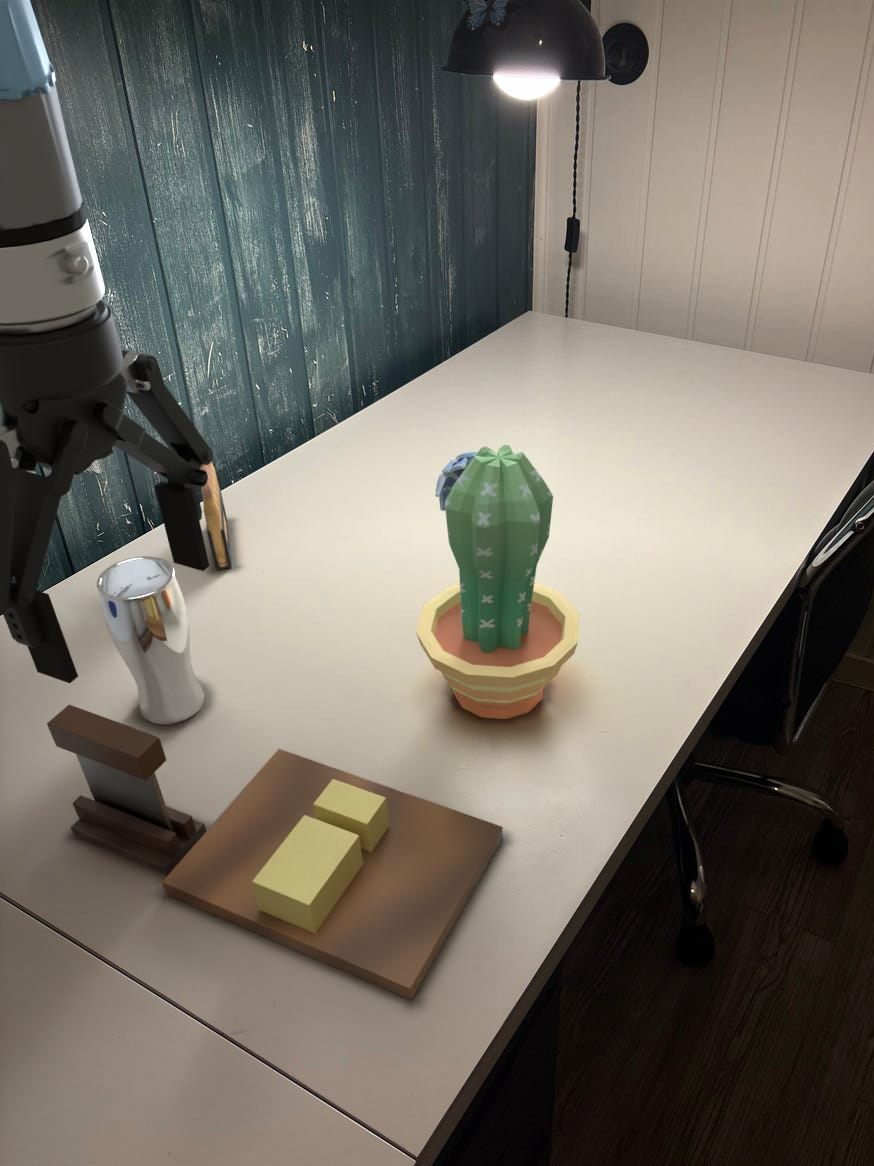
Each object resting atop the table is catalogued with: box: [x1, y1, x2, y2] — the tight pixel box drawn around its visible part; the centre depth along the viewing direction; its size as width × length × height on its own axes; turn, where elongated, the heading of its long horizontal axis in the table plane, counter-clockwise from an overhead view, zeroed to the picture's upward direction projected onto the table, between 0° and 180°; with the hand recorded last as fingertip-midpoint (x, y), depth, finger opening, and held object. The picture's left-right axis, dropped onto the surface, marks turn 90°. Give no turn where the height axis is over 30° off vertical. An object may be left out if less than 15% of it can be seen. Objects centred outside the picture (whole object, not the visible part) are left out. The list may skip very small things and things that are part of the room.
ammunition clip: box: [200, 461, 233, 571], centre depth 110 cm, size 11×2×12 cm, turn 14°
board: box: [161, 748, 504, 1000], centre depth 76 cm, size 22×16×2 cm
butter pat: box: [313, 779, 389, 852], centre depth 76 cm, size 5×3×4 cm, turn 65°
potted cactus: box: [415, 444, 581, 720], centre depth 85 cm, size 15×15×25 cm
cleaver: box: [46, 704, 175, 833], centre depth 75 cm, size 9×2×11 cm, turn 65°
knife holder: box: [70, 794, 207, 876], centre depth 79 cm, size 10×5×3 cm, turn 65°
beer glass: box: [96, 556, 205, 725], centre depth 87 cm, size 7×7×15 cm
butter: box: [252, 815, 363, 933], centre depth 72 cm, size 5×7×4 cm
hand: (129, 615), depth 66 cm, fingers open, 13 cm apart
